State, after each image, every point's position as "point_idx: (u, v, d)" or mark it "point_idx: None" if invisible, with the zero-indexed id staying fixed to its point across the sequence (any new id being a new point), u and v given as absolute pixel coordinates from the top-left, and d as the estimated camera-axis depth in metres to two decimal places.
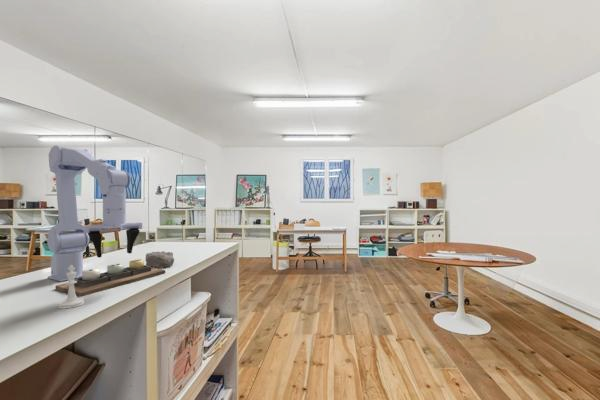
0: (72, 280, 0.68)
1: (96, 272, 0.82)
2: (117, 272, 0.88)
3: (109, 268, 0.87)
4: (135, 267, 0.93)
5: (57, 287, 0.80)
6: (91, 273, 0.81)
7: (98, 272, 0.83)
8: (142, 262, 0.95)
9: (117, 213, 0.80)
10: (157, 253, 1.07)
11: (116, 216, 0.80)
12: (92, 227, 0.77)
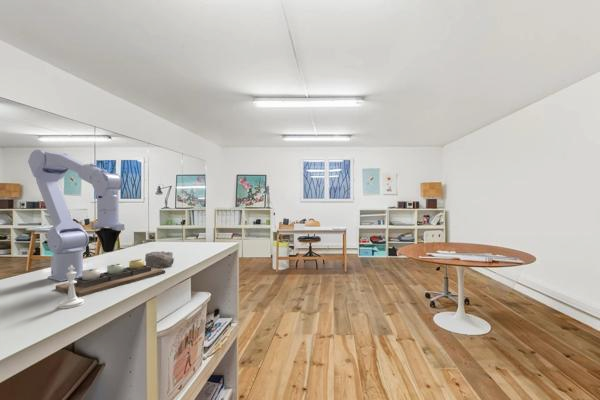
0: (72, 280, 0.68)
1: (96, 272, 0.82)
2: (117, 272, 0.88)
3: (109, 268, 0.87)
4: (135, 267, 0.93)
5: (57, 287, 0.80)
6: (91, 273, 0.81)
7: (98, 272, 0.83)
8: (142, 262, 0.95)
9: (99, 213, 0.87)
10: (157, 253, 1.07)
11: (98, 216, 0.87)
12: None
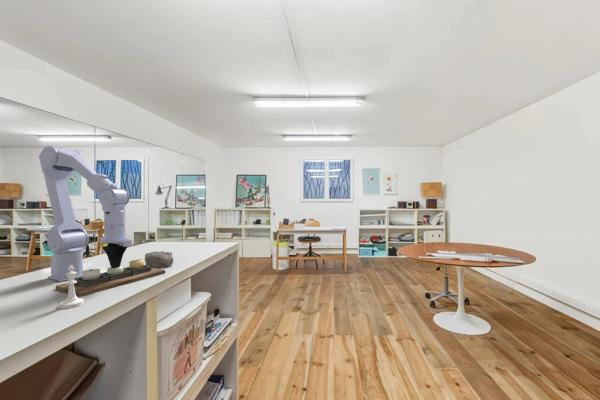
0: (72, 280, 0.68)
1: (96, 272, 0.82)
2: None
3: (109, 270, 0.87)
4: (135, 267, 0.93)
5: (57, 287, 0.80)
6: (91, 273, 0.81)
7: (98, 272, 0.83)
8: (142, 262, 0.95)
9: (106, 229, 0.87)
10: (156, 253, 1.07)
11: (105, 232, 0.87)
12: (101, 239, 0.91)
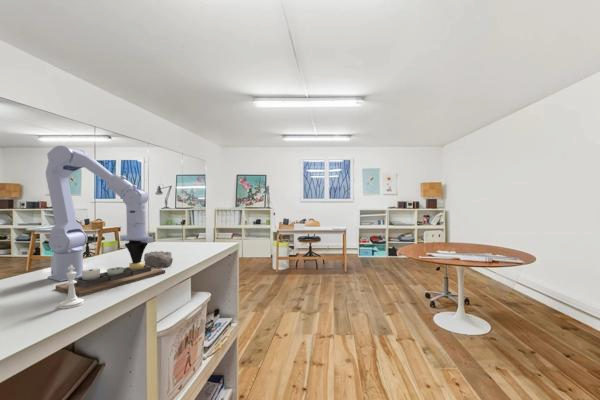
0: (72, 280, 0.68)
1: (96, 272, 0.82)
2: None
3: (109, 272, 0.87)
4: (135, 269, 0.93)
5: (57, 287, 0.80)
6: (91, 273, 0.81)
7: (98, 272, 0.83)
8: (142, 264, 0.95)
9: (129, 227, 0.93)
10: (156, 253, 1.07)
11: (128, 230, 0.93)
12: (122, 237, 0.97)
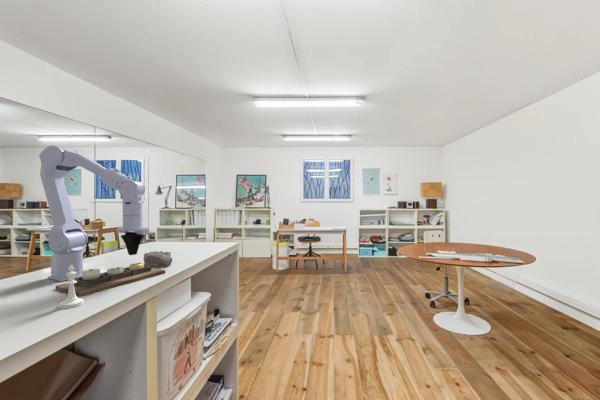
0: (72, 280, 0.68)
1: (96, 272, 0.82)
2: None
3: (109, 272, 0.87)
4: None
5: (57, 287, 0.80)
6: (91, 273, 0.81)
7: (98, 272, 0.83)
8: (142, 265, 0.95)
9: (124, 218, 0.92)
10: (155, 253, 1.07)
11: (123, 221, 0.92)
12: (119, 228, 0.96)
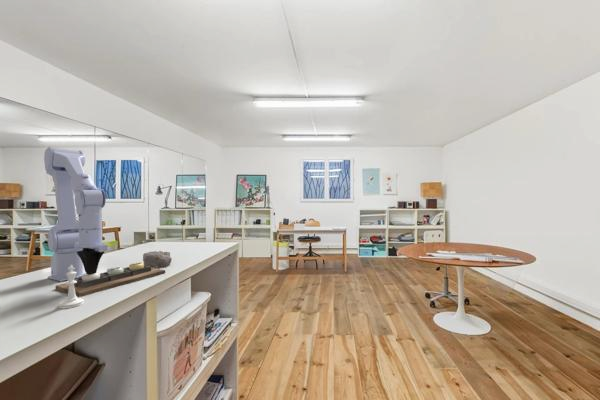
0: (72, 280, 0.68)
1: (96, 276, 0.82)
2: None
3: (109, 272, 0.87)
4: None
5: (57, 287, 0.80)
6: (91, 277, 0.81)
7: (98, 276, 0.83)
8: (142, 265, 0.95)
9: (80, 233, 0.81)
10: (154, 253, 1.08)
11: (79, 236, 0.80)
12: (76, 244, 0.84)
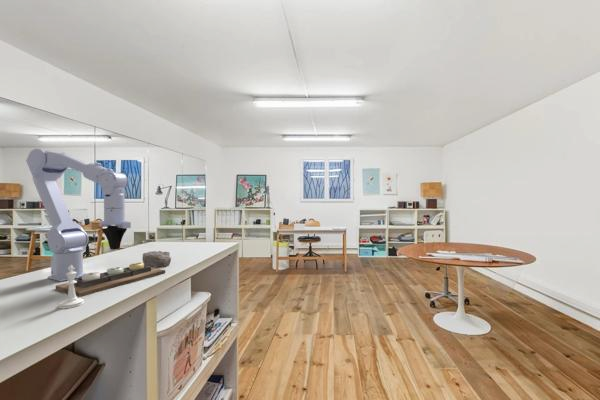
0: (72, 280, 0.68)
1: (96, 276, 0.82)
2: None
3: (109, 272, 0.87)
4: None
5: (57, 287, 0.80)
6: (91, 277, 0.81)
7: (98, 276, 0.83)
8: (142, 265, 0.95)
9: (106, 211, 0.89)
10: (154, 253, 1.08)
11: (105, 214, 0.88)
12: None
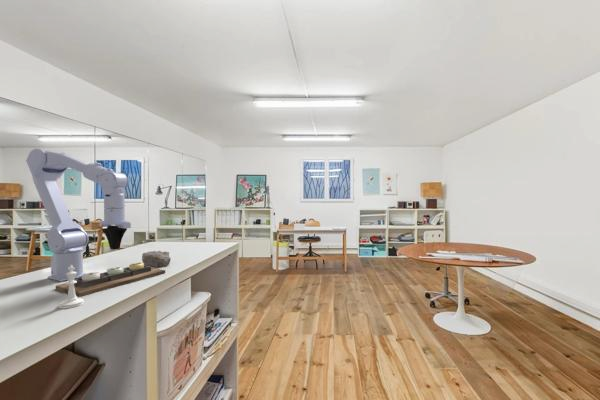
0: (72, 280, 0.68)
1: (96, 276, 0.82)
2: None
3: (109, 272, 0.87)
4: None
5: (57, 287, 0.80)
6: (91, 277, 0.81)
7: (98, 276, 0.83)
8: (142, 265, 0.95)
9: (106, 211, 0.89)
10: (154, 253, 1.08)
11: (105, 214, 0.88)
12: None
